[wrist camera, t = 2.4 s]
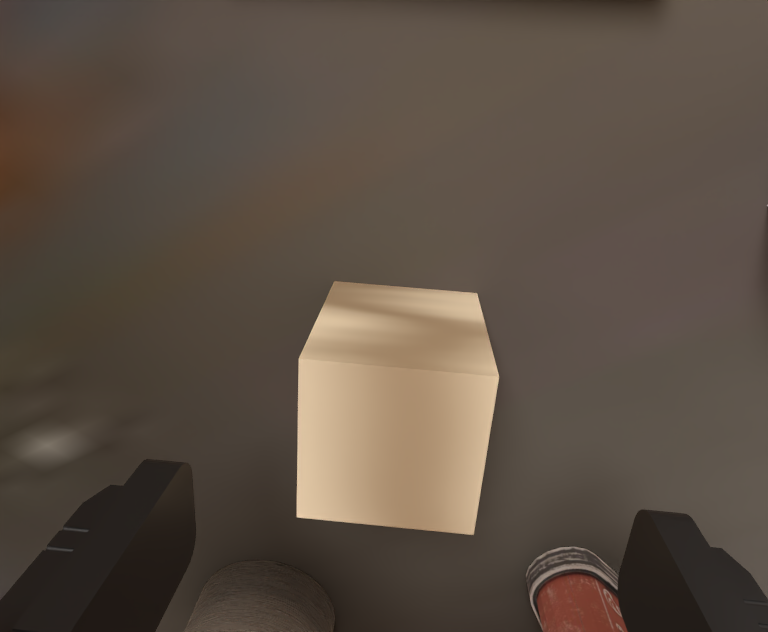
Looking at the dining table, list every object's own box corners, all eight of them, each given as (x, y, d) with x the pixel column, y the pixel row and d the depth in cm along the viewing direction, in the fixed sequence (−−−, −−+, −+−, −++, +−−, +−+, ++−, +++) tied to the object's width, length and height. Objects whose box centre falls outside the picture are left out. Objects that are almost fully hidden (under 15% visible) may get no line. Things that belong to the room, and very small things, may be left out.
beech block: (329, 404, 18) (296, 517, 13) (334, 280, 16) (298, 358, 11) (460, 415, 17) (473, 534, 13) (477, 293, 16) (499, 376, 11)
